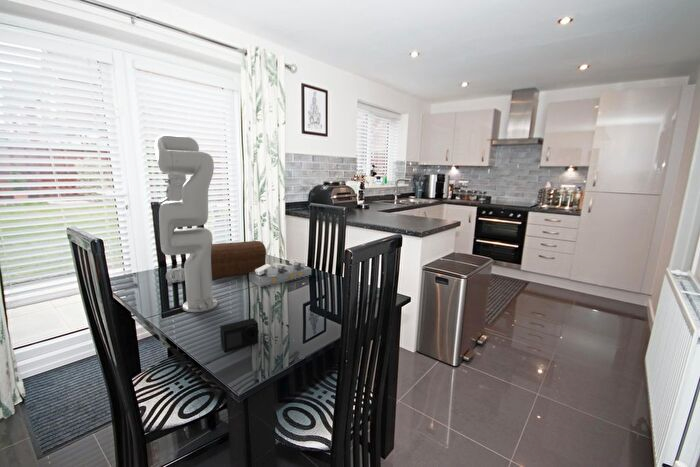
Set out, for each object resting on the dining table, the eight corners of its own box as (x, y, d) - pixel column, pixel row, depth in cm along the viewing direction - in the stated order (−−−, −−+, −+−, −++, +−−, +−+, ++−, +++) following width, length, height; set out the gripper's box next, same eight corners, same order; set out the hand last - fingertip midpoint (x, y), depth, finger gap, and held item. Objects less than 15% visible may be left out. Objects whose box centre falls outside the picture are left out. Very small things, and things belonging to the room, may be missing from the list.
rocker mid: (288, 270, 162) (289, 266, 162) (276, 268, 157) (277, 264, 157) (284, 268, 165) (285, 264, 165) (272, 266, 161) (273, 262, 161)
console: (311, 275, 167) (311, 266, 166) (260, 287, 148) (259, 277, 147) (299, 270, 176) (299, 261, 175) (249, 280, 157) (248, 270, 157)
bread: (202, 270, 171) (201, 241, 168) (258, 264, 186) (257, 237, 183) (206, 280, 156) (204, 248, 153) (266, 273, 170) (266, 243, 167)
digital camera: (225, 354, 93) (224, 333, 92) (220, 346, 98) (219, 325, 96) (259, 344, 100) (259, 324, 98) (253, 337, 104) (253, 317, 103)
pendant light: (192, 278, 158) (188, 219, 152) (180, 284, 148) (175, 221, 143) (174, 277, 158) (170, 218, 153) (161, 283, 149) (156, 220, 144)
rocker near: (272, 269, 156) (271, 265, 155) (260, 276, 152) (258, 272, 151) (268, 267, 159) (267, 263, 158) (255, 273, 155) (254, 269, 154)
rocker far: (304, 267, 168) (305, 263, 168) (293, 265, 163) (294, 261, 163) (299, 265, 171) (300, 261, 171) (288, 263, 167) (289, 259, 167)
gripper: (160, 182, 142) (163, 220, 145) (199, 182, 155) (201, 217, 158) (154, 182, 147) (157, 218, 150) (192, 182, 160) (194, 215, 163)
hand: (179, 218), depth 154 cm, fingers open, 9 cm apart
